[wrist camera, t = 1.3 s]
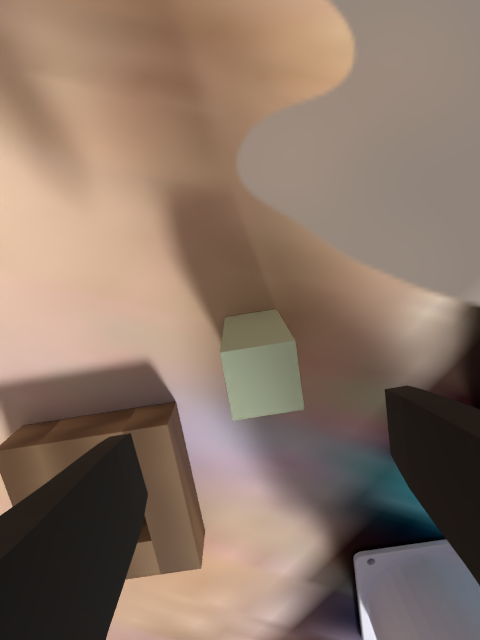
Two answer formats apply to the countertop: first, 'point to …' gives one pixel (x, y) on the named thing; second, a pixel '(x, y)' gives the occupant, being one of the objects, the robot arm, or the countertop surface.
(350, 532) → the countertop surface
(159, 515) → the brown square frame
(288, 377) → the sage peg
